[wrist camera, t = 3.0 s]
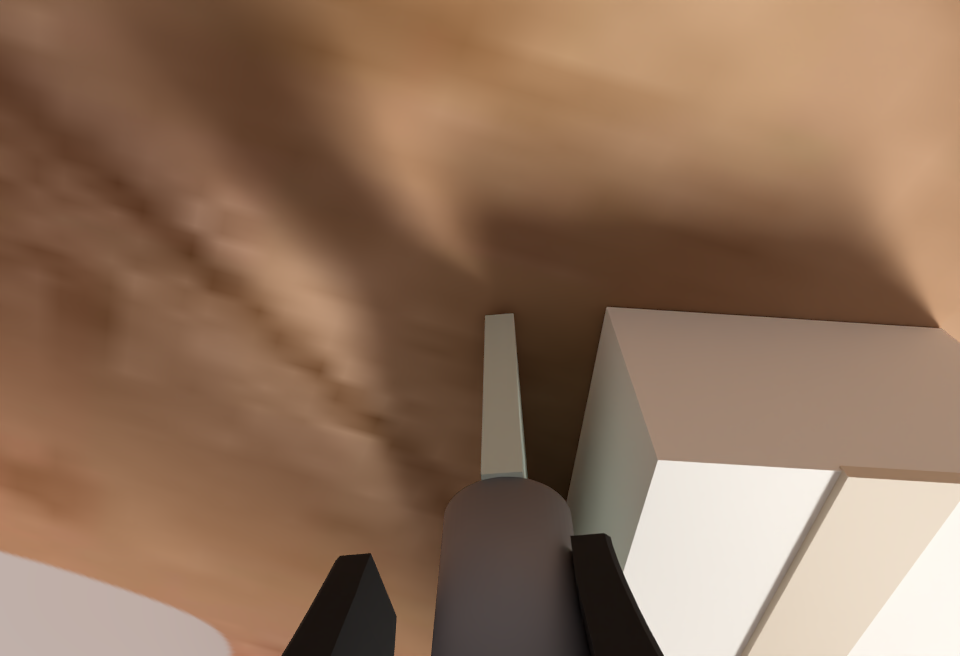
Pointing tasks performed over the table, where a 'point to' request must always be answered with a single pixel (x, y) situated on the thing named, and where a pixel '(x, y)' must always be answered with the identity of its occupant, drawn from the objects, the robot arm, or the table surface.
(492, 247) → the table surface
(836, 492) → the carton
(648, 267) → the table surface
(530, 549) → the flap
